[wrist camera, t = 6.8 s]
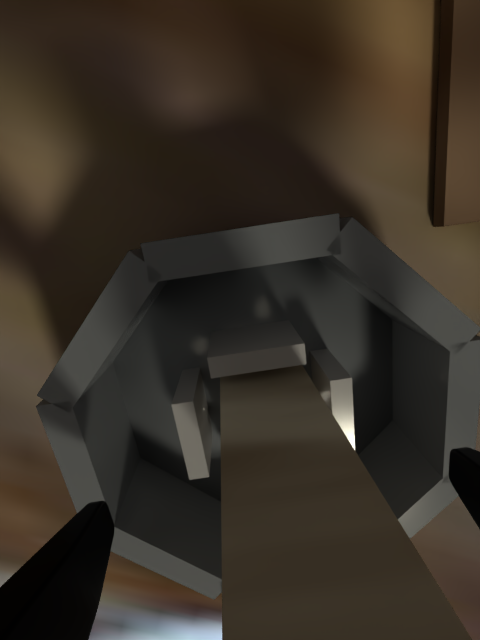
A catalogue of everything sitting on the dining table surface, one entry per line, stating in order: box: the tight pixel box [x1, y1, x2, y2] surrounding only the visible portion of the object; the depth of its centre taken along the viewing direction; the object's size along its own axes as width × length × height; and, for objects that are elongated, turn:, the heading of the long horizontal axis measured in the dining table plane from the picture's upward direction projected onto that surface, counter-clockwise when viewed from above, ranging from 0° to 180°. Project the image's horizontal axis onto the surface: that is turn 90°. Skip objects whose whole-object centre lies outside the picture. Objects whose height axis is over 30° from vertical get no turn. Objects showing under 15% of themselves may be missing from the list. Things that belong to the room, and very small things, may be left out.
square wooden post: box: [220, 365, 472, 640], centre depth 8 cm, size 3×3×10 cm
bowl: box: [36, 213, 480, 599], centre depth 11 cm, size 13×13×4 cm
